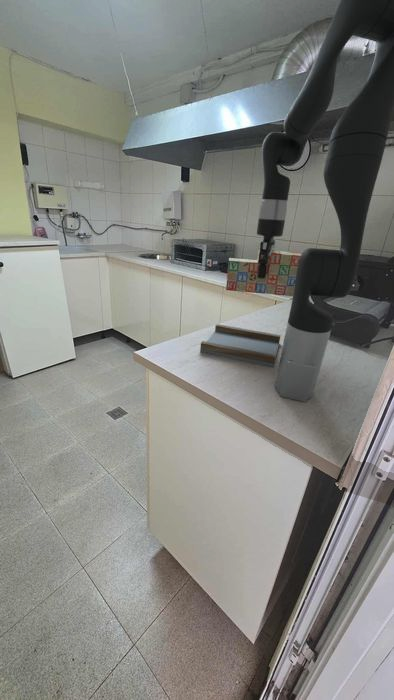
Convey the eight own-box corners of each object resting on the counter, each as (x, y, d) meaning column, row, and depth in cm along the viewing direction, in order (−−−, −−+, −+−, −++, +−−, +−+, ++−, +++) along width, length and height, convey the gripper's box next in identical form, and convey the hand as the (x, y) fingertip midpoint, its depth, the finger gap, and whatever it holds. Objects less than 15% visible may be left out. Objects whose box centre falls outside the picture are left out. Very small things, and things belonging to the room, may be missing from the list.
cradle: (273, 367, 81) (275, 357, 79) (200, 351, 87) (200, 343, 85) (279, 343, 95) (280, 335, 94) (216, 331, 101) (216, 324, 100)
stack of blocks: (225, 290, 89) (229, 249, 84) (226, 286, 95) (229, 247, 90) (294, 296, 88) (303, 254, 82) (291, 291, 93) (299, 252, 88)
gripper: (283, 218, 75) (272, 281, 82) (287, 219, 87) (277, 273, 94) (254, 217, 77) (246, 278, 84) (262, 217, 89) (255, 271, 96)
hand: (263, 275), depth 89 cm, fingers closed on stack of blocks, 7 cm apart
